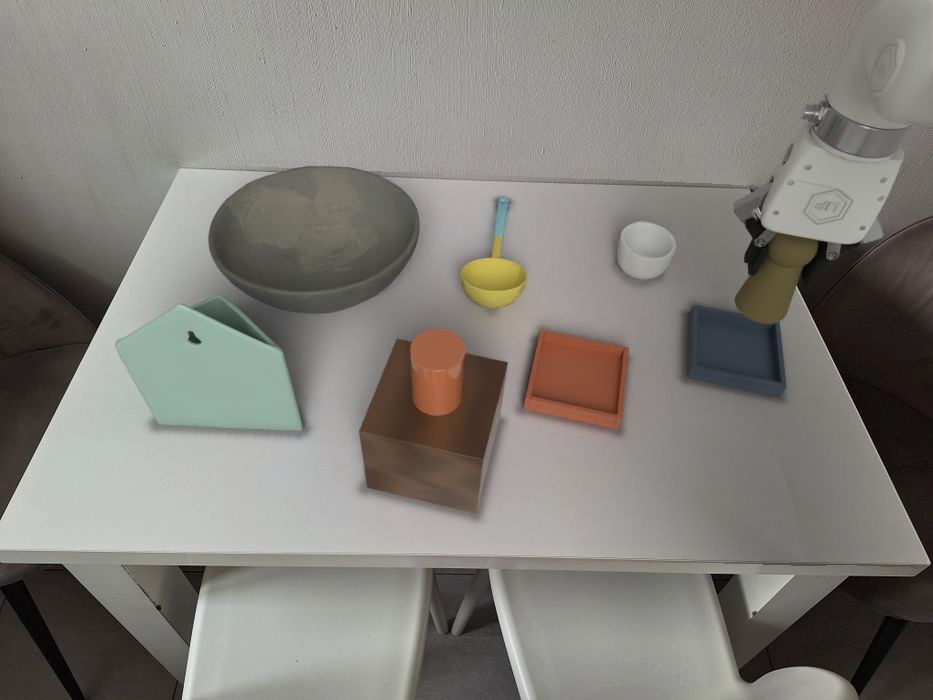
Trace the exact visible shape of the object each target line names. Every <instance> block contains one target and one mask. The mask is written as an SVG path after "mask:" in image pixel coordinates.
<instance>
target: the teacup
mask: <svg viewBox="0 0 933 700" xmlns="http://www.w3.org/2000/svg"><path fill="white" fill-rule="evenodd" d="M676 250H677V242H676V239H675V237H674V236H673V234H672V233H671V232H670V231H669V230H668V229H666V227H663V226H661V225H659V224H658V223H654V222H650V221H643V220H641V219H640V220H637V221H636V222H631V223H630V224H627V225H626V226H625V227H623V229H622V230H621V232H620V235H619V238H618V242H617V248H616V260H617V263H618V266H619V268H620V269H621V271H622V272H623V273H624V274H626V276H629V278H633V279H635V280H641V281H647V280H653V279H656V278H657V277H659V276H661V275H662V274H663V273H664V272H665V271H666V270H667V268H668V267H669V266H670V263H671V262H672V260H673V257H674V255H675V253H676Z"/></svg>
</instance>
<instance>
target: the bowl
mask: <svg viewBox="0 0 933 700" xmlns="http://www.w3.org/2000/svg"><path fill="white" fill-rule="evenodd" d="M420 223H421V221H420V214H419V211H418V208H417V206H416V204H415V202H414V200H413V199H412V198H411V196H410V195H409V194H408V193H407V192H406V191H405V190H404V189H402V188H401V187H400V186H399V185H398V184H395V183H394V182H392V181H390V180H389V179H387V178H385V177H383V176H381V175H378V174H376V173H372V172H370V171H368V170H367V171H366V170H364V169H360V168H355V167H350V166H335V165H334V166H333V165H307V166H300V167H295V168H291V169H287V170H282V171H279V172H275V173H271V174H269V175H264V176H262V177H260V178H257V179H254V180H252V181H249V182H247V183H245V184H244V185H243V186H242V187H240V188H239V189H238V190H236V191H235V192H233V193H232V194H231V195H229V196H228V197H227V198H225V200H224V201H223V203H222V204H220V206H219V208H218V209H217V210H216V213H215V214H214V215H213V218H212V220H211V222H210V226H209V229H208V230H209V231H208V236H207V239H208V241H207V242H208V249H209V253H210V257H211V258H212V261H213V263H214V264H215V266H216V267H217V269H218V270H219V272H220V273H221V274H222V275H223V277H224V278H225V279H227V280H228V282H230V283H231V285H233V286H234V287H235V288H236V289H238V290H239V291H241V293H244V294H246V295H247V296H249V297H251V298H252V299H254V300H256V301H259V302H261V303H262V304H265V305H267V306H269V307H272V308H276V309H278V310H283V311H286V312H291V313H298V314H329V313H335V312H340V311H343V310H346V309H349V308H352V307H355V306H357V305H359V304H361V303H364V302H365V301H366V302H367V301H368V300H370V299H372V298H373V297H375V296H377V295H378V294H380V293H381V292H382V291H384V290H385V289H387V288H388V287H389V286H390V285H391V284H392V283H393V282H394V281H395V280H396V279H397V277H398V276H399V275H400V274H401V273H402V272H403V270H404V269H405V267H406V266H407V264H408V263H409V261H410V260H411V258H412V256H413V254H414V252H415V250H416V246H417V244H418V240H419V236H420V227H421V225H420Z"/></svg>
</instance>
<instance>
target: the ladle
mask: <svg viewBox="0 0 933 700" xmlns="http://www.w3.org/2000/svg"><path fill="white" fill-rule="evenodd" d="M509 201H510V199H509V198H508V197H505V196H501V197H499V198H498V202H497V208H496V214H495V223H494V230H493V242H492V250H491V257H482V258H477V259H473V260H472V261H469V262H467V263H466V264H465V265H463V266H462V268H461V270H460V274H459V275H460V281H461V287H462V288H463V290H464V292H465V294H466V295H467V296H468V298H469V299H470V300H472V301H473V302H475V304H477V305H479V306H481V307H484V308H489V309H500V308H503V307H504V308H505V307H506V306H508V305H510V304H512V303H514V302H515V301H516V300H517V299H518V298H519V297H520V296H521V294H523V292H524V289H525V288H526V284H527V280H528V273H527V271H526V269H524V267H523V266H522V265H520V264H518V263H516V262H515V261H512V260H509V259H505V258H501V253H502V245H503V239H504V234H505V227H506V220H507V215H508V208H509Z"/></svg>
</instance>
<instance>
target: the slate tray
mask: <svg viewBox="0 0 933 700" xmlns="http://www.w3.org/2000/svg"><path fill="white" fill-rule="evenodd" d="M687 322H688V324H687V368H686V369H687V372H686V373H687V374H686V375H687V376H686V377H687V379H690V380H694V381H699V382H705V383H709V384H715V385H720V386H723V387H727V388H728V387H729V388H732V389H733V388H734V389H739V390H744V391H746V392H747V391H749V392H752V393H757V394H763V395H767V396H773V397H778V398H780V397H781V395H782V394H783V393H784V391H785V390H786V389H787V378H786V369H785V360H784V349H783V340H782V331H781V321H780V322H778V323H773V324H764V323H759V322H755V321H752V320H750V319H749V318H747V317H745V316H744V315H743V314H742V313H740V312H736V311H731V310H725V309H720V308H715V307H710V306H705V305H700V304H692V305H691V308H690V310H689V312H688V321H687Z"/></svg>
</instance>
